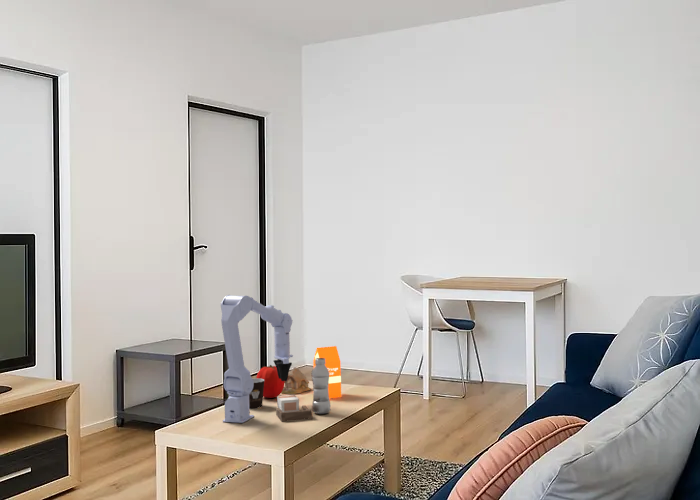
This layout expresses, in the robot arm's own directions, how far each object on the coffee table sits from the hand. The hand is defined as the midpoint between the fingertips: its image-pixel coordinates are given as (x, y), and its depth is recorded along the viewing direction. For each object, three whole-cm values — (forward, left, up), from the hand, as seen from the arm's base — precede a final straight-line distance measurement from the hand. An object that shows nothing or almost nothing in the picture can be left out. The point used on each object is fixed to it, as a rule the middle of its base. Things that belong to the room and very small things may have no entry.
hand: (282, 379), depth 276 cm
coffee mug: (-5, +12, -10) cm, 16 cm away
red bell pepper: (+11, +10, -10) cm, 18 cm away
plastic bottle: (-9, -19, -10) cm, 23 cm away
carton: (-7, -5, -10) cm, 13 cm away
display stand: (-15, -10, -10) cm, 21 cm away
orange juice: (+18, -12, -10) cm, 24 cm away
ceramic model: (+25, +5, -10) cm, 28 cm away
